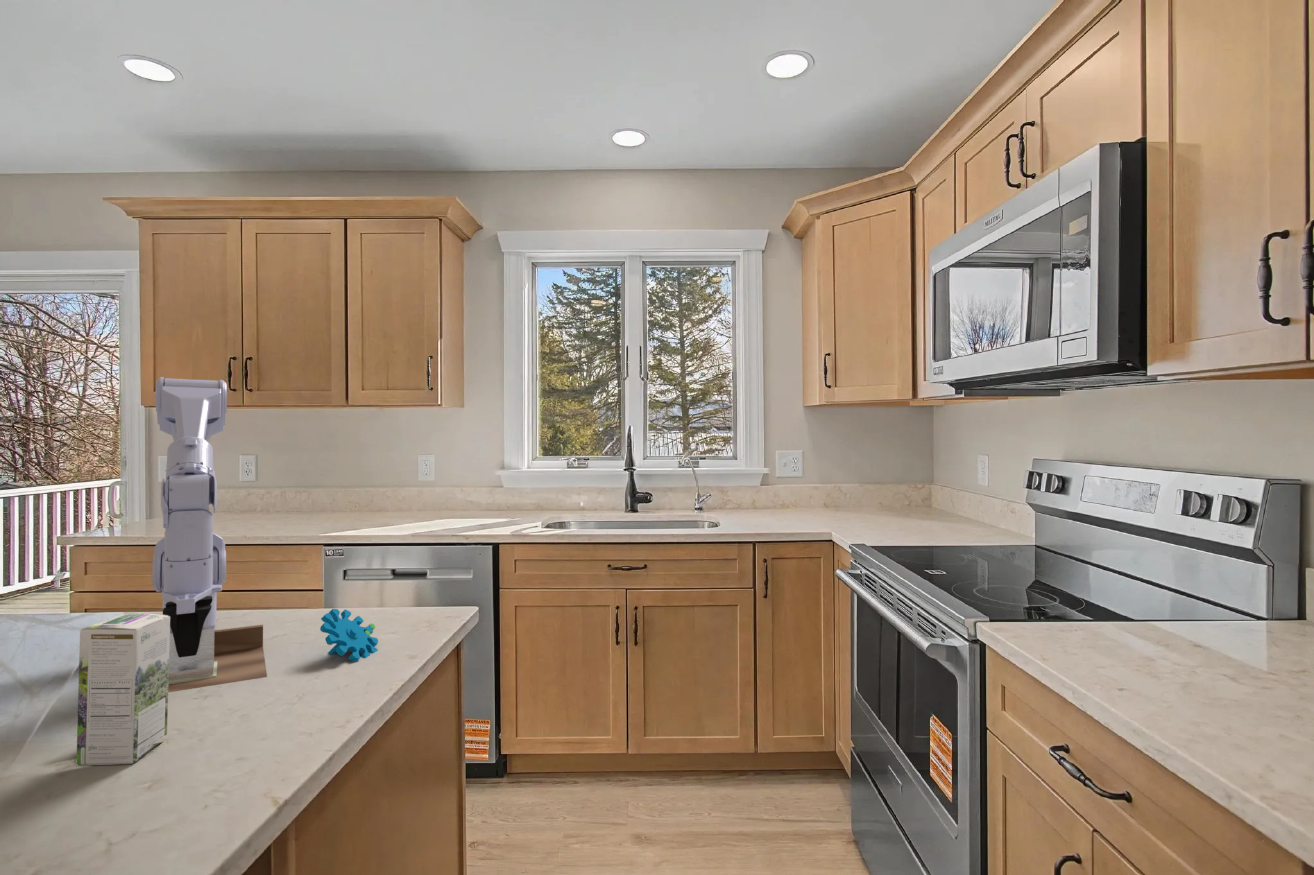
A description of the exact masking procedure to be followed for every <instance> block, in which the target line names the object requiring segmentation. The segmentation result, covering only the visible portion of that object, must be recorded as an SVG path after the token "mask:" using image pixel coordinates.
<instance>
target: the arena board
mask: <svg viewBox="0 0 1314 875" xmlns="http://www.w3.org/2000/svg"><path fill="white" fill-rule="evenodd" d="M266 666H267V665H266V659H265V654H264V646H263V647H255V648H248V649H241V650H233V651H226V652H219V653H214V672H213V675H210V676H204V677H197V678H190V679H184V680H177V681H170V682H168V693H173V692H181V691H186V690H194V689H198V688H200V689H201V688H205V687H206V688H207V687H213V686H219V685H224V684H226V685H227V684H231V683H237V682H244V681H250V680H257V679H262V678H268V673H267V667H266Z"/></svg>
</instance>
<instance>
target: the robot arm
mask: <svg viewBox="0 0 1314 875" xmlns="http://www.w3.org/2000/svg"><path fill="white" fill-rule="evenodd" d="M227 387H228V384H227V382H225V380H223V379H219V380H210V379H187V378H186V379H185V378H165V377H164V376H160V377H159V378H157V379H156V380H155V411H156V418H157V420H156V423H157V424H158V426H159V431H161V432H163V433H166V434H167V435H171V437H172V438H173V441H172V442H171V443H170V444H169V446H168V447H167V452H166V470H165V478H162V479H161V483H160V508H161V512H162V521H163V524H162V526H163V528H164V529H165V531H164V537H163V538H162V539H160V540H158V541H157V542H156V545H155V546H154V550H153V551H154V552H153V556H152V557H153V558H152V575H151V576H152V578H151V579H152V580H151V581H152V582H151V583H152V589H153V590H154V591H155V592H156V593H159V592H161V598H162V615H168V616H170V630H172V633H173V637H174V642H175V647H176V651H177V654H178V657H187V656H195V655H196V654H197V651H198V648H199V643H200V637H201V632H202V628H203V627H204V626H212V625H215V629H214V630H217V598H218V597H217V595H218V594H217V593H221V592H222V591H223V585H224V584H225V583H226V581H227V551H226V541H225V540H224V538H223V537H222V536H220V535H218V534H217V533H214V514H213V513H216V509H217V506H218V505H217V504H218V502H217V501H218V483H217V482H218V481H217V477H216V474H215V469H214V448H213V446H212V445H211V443H210V440H211V438H212V437H213V436H214V435H217V434H218V433H221V432H223V431H224V426H225V425H226V414H227V412H228V410H227V408H228V407H227V406H228V403H227V402H228V388H227ZM210 505H212V507H213V512H211V511H210Z"/></svg>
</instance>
